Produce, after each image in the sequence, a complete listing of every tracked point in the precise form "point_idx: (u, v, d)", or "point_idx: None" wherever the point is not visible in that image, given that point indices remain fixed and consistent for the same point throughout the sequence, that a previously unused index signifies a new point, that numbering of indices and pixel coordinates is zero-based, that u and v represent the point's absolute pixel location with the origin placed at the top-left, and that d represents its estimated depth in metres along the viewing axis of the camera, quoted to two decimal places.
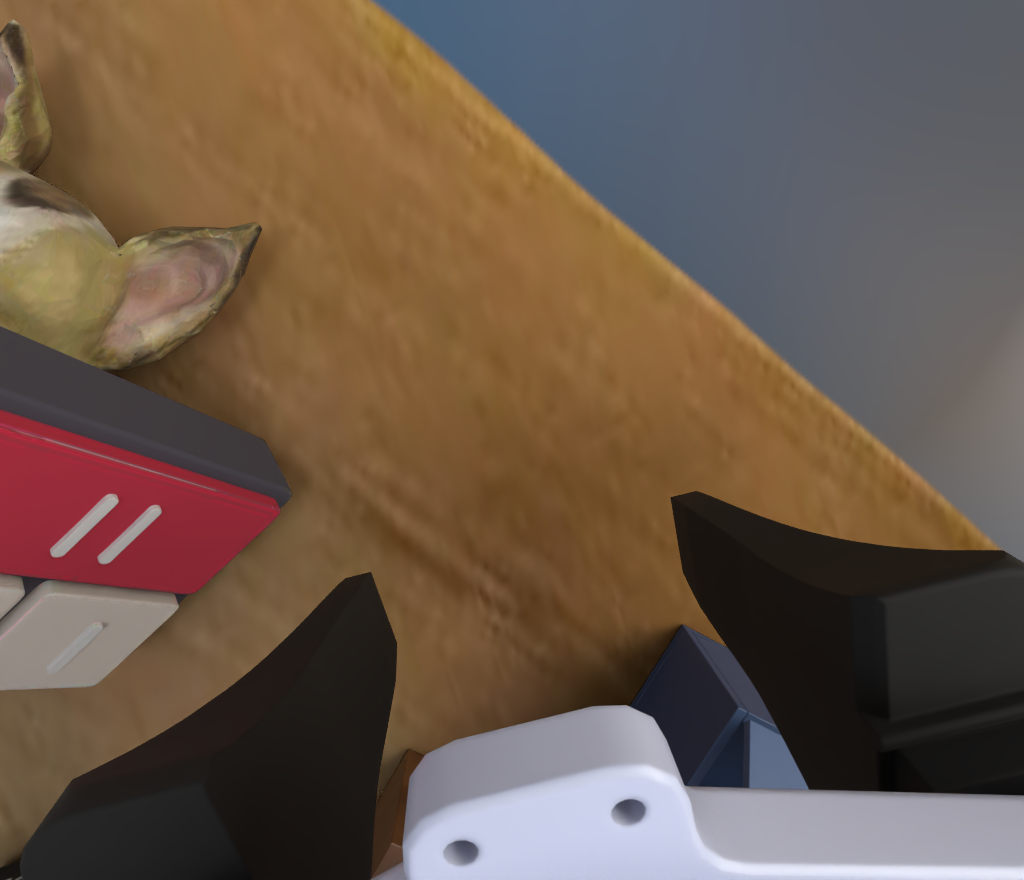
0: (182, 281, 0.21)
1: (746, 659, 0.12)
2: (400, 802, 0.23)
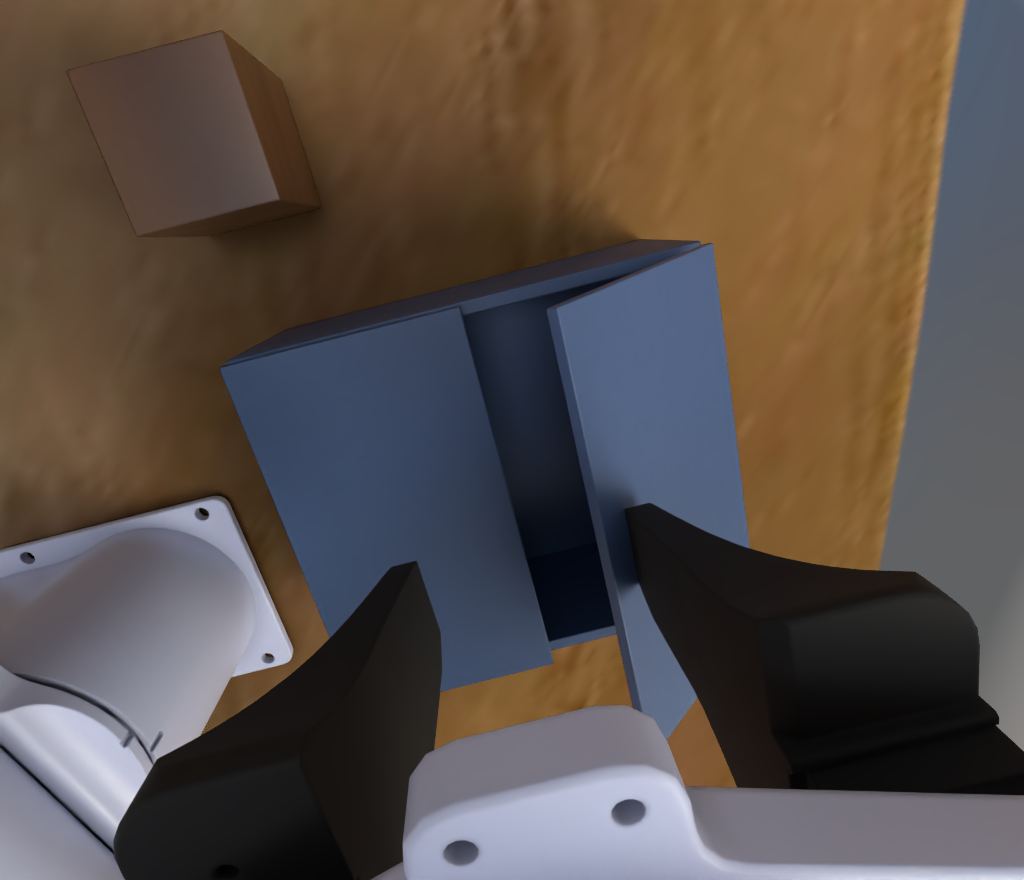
0: None
1: (691, 673, 0.12)
2: (249, 54, 0.17)
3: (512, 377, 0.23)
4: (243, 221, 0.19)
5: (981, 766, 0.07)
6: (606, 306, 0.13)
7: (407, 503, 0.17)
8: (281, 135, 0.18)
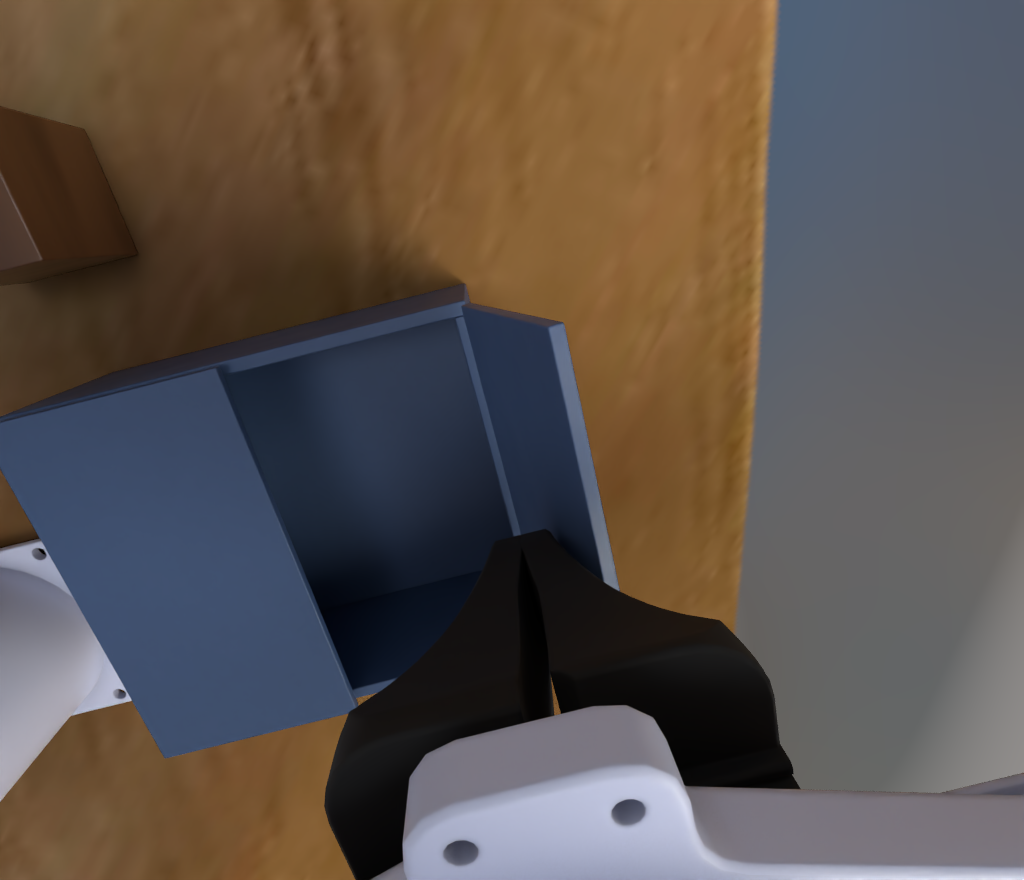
0: None
1: None
2: (20, 113, 0.17)
3: (343, 419, 0.23)
4: (40, 272, 0.19)
5: None
6: None
7: (186, 557, 0.18)
8: (66, 190, 0.18)
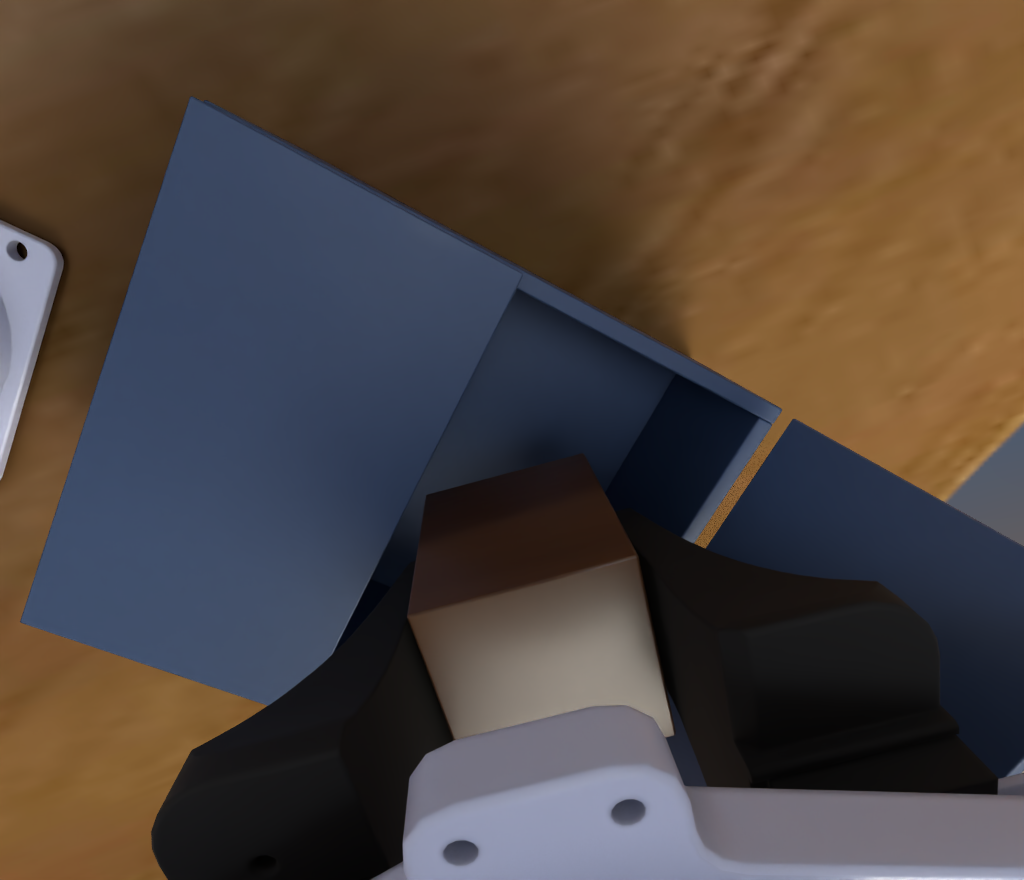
0: None
1: (667, 678, 0.12)
2: None
3: (479, 384, 0.19)
4: None
5: (939, 776, 0.07)
6: None
7: (285, 431, 0.12)
8: None
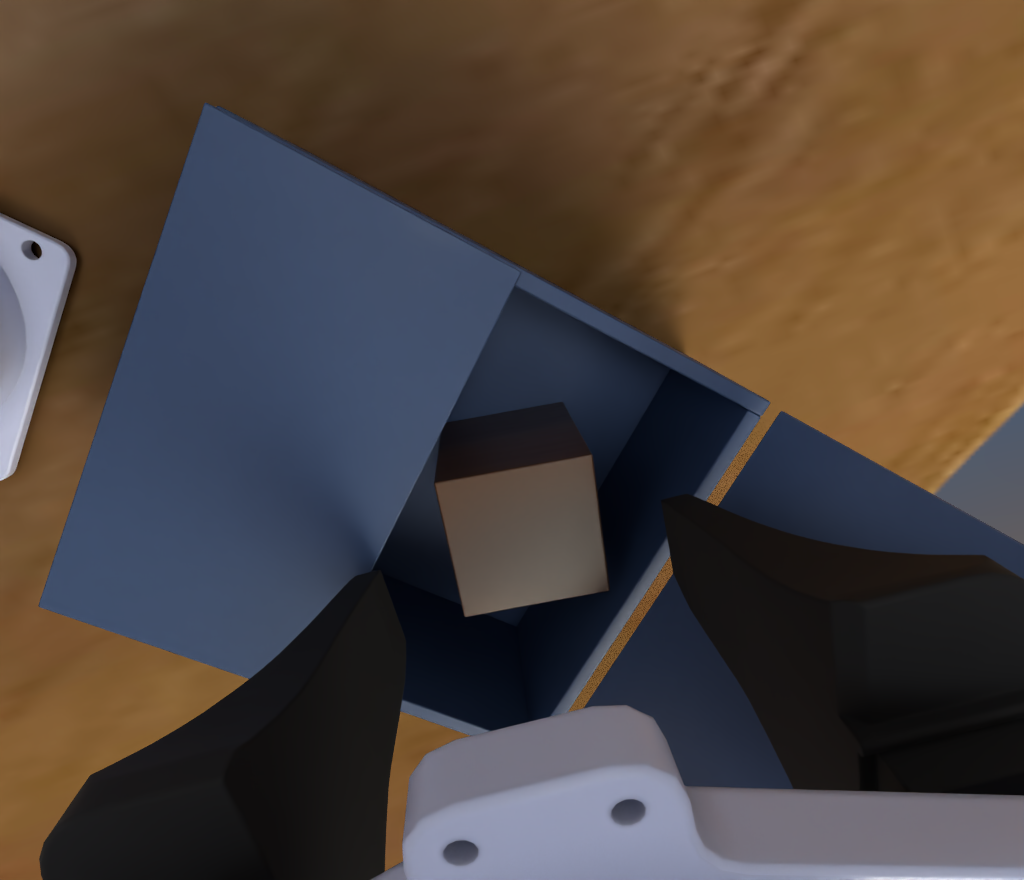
0: None
1: (734, 662, 0.12)
2: None
3: (479, 380, 0.19)
4: None
5: None
6: None
7: (293, 423, 0.13)
8: None
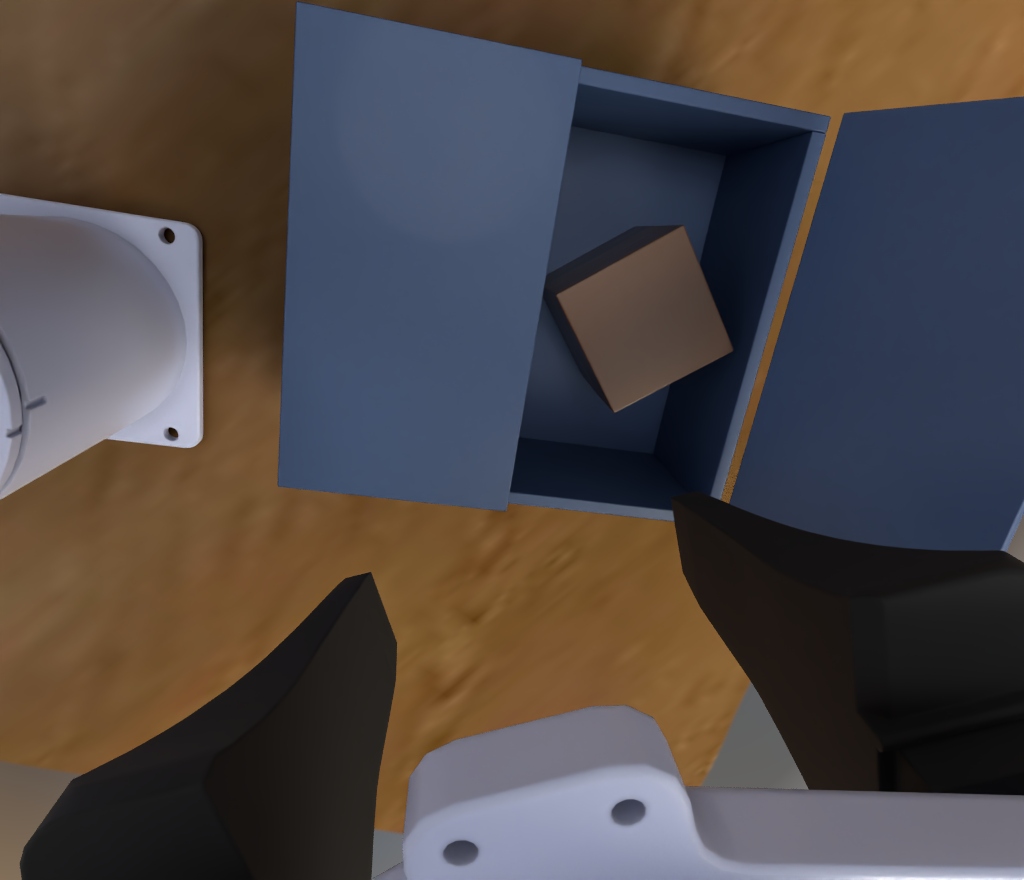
0: None
1: (746, 659, 0.12)
2: None
3: (557, 230, 0.21)
4: (568, 338, 0.20)
5: None
6: None
7: (433, 260, 0.15)
8: None
